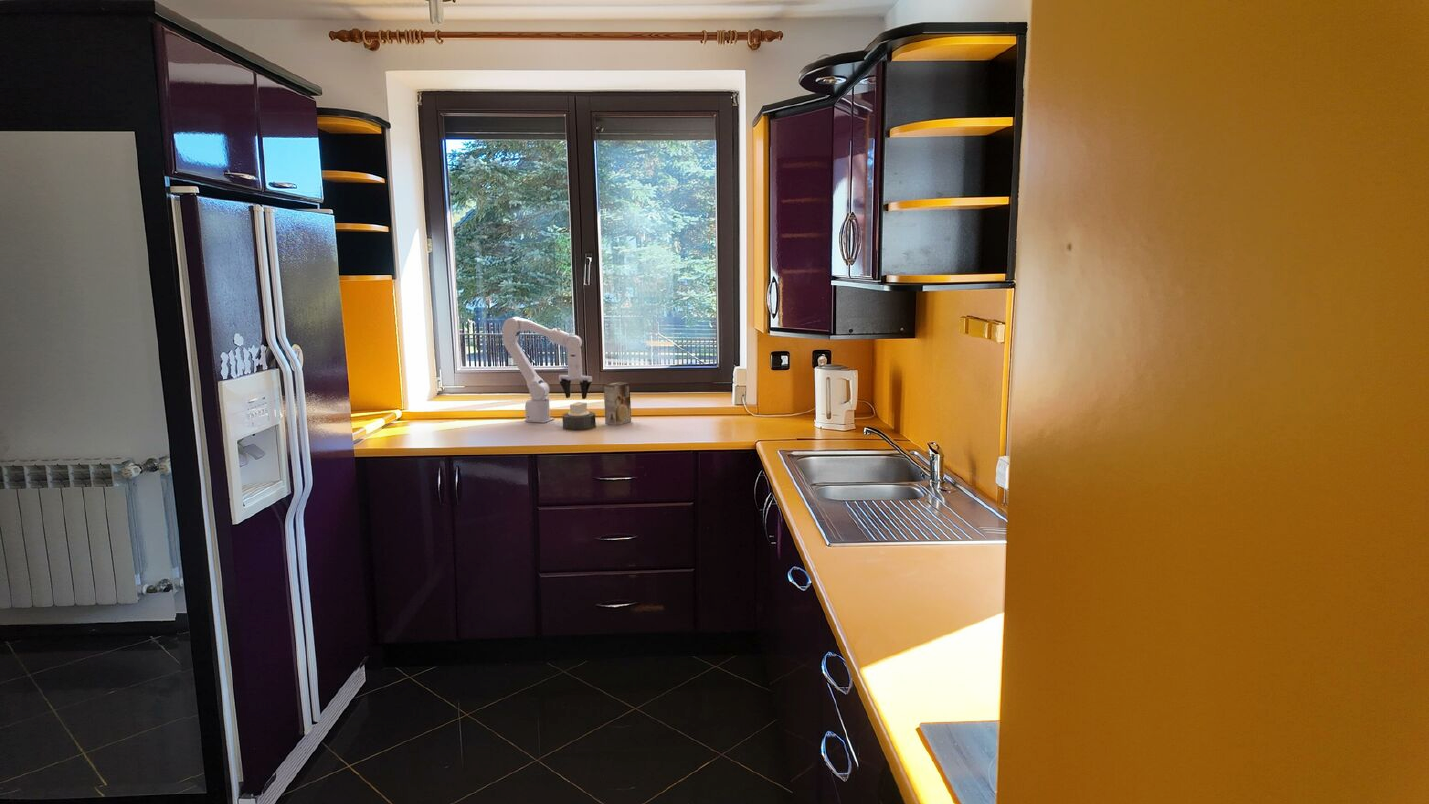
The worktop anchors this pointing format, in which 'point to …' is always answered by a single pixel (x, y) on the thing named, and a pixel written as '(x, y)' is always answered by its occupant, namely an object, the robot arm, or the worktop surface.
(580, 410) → the cap
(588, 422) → the dark grey thick ring
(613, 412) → the coffee box
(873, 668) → the worktop surface
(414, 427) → the worktop surface
